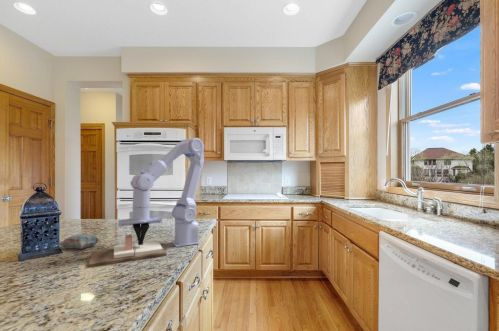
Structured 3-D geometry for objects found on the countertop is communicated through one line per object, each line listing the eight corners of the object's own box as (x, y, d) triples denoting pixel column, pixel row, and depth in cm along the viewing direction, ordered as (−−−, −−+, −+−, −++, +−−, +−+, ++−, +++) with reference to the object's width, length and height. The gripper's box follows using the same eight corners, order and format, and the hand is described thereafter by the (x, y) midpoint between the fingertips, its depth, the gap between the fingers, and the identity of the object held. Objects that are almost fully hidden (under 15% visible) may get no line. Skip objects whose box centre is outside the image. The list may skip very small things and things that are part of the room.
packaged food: (82, 252, 89) (82, 238, 89) (55, 250, 91) (55, 237, 91) (101, 245, 97) (101, 233, 98) (76, 243, 100) (76, 231, 100)
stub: (132, 246, 92) (132, 232, 92) (134, 255, 82) (134, 239, 83) (114, 248, 89) (114, 234, 89) (113, 258, 80) (114, 242, 80)
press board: (159, 245, 98) (160, 242, 98) (166, 255, 86) (166, 252, 86) (92, 253, 87) (92, 250, 87) (88, 267, 75) (88, 264, 75)
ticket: (157, 243, 97) (158, 240, 97) (162, 252, 87) (162, 248, 87) (132, 247, 92) (133, 243, 92) (134, 256, 83) (135, 252, 83)
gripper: (119, 209, 82) (117, 250, 81) (163, 207, 89) (163, 244, 88) (118, 206, 88) (117, 244, 88) (160, 204, 95) (160, 239, 95)
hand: (140, 244), depth 88 cm, fingers closed
